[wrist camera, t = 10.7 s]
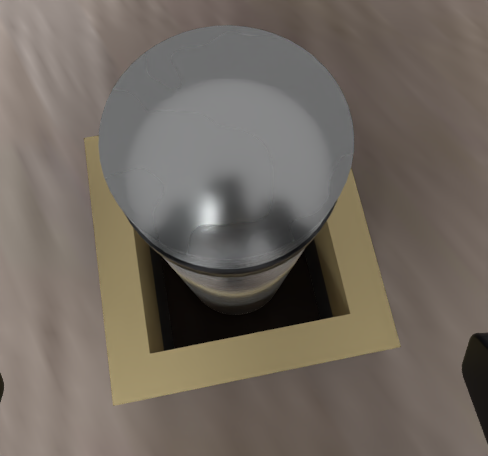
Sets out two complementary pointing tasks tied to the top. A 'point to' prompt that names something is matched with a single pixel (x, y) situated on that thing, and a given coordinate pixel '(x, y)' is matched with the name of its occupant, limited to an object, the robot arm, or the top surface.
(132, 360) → the collar block
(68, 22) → the top surface
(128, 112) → the metal tumbler
